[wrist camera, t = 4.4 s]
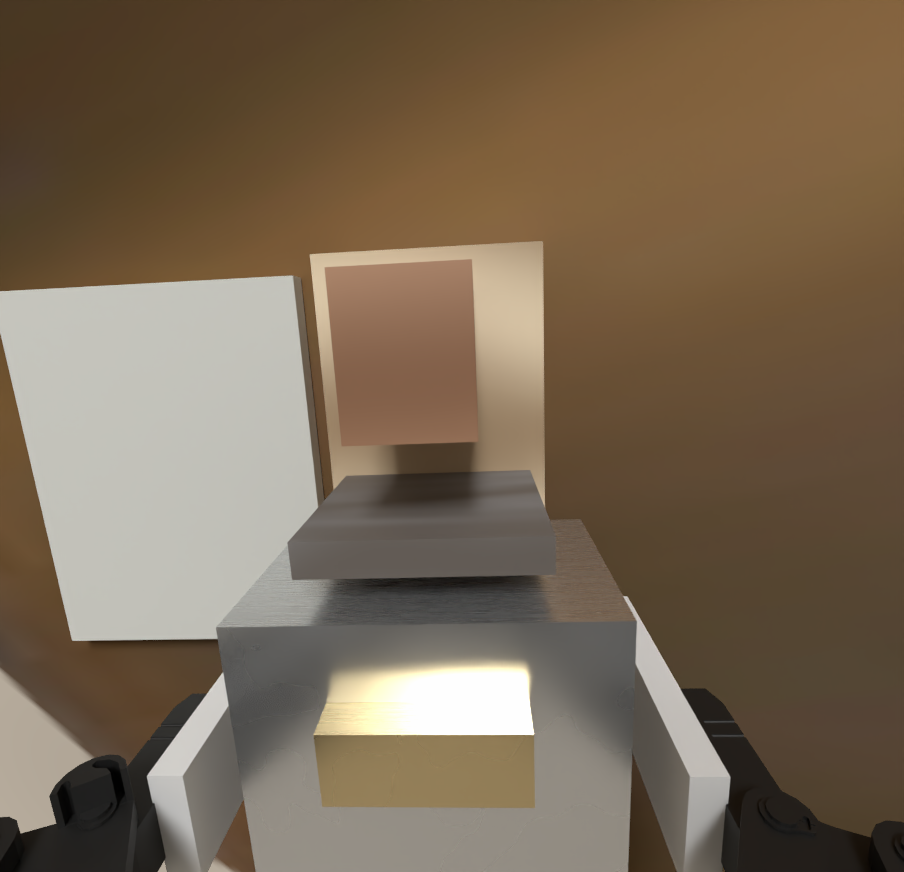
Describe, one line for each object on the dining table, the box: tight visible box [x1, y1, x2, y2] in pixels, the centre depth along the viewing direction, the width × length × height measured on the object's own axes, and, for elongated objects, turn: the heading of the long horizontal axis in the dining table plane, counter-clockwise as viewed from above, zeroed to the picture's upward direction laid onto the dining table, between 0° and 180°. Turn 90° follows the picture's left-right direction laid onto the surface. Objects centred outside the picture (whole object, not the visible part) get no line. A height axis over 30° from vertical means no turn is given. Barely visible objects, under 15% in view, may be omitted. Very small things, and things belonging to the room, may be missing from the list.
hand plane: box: [287, 241, 556, 580], centre depth 15 cm, size 24×6×10 cm, turn 3°
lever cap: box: [216, 519, 637, 872], centre depth 12 cm, size 9×8×6 cm
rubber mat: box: [0, 276, 324, 641], centre depth 19 cm, size 14×11×1 cm
